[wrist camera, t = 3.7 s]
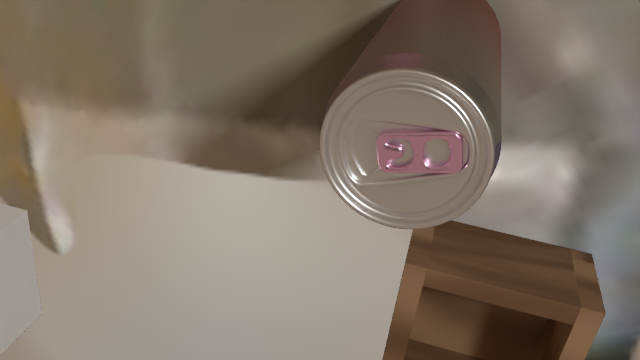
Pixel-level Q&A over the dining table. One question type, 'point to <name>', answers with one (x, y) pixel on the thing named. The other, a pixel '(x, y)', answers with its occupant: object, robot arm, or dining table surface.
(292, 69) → the dining table surface
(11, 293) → the robot arm
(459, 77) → the beverage can
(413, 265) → the wooden box
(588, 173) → the dining table surface
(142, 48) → the dining table surface
